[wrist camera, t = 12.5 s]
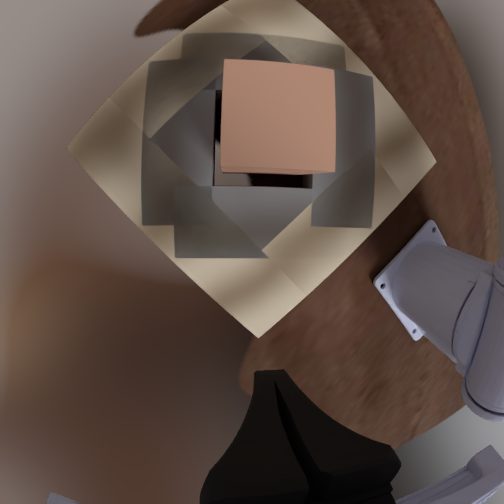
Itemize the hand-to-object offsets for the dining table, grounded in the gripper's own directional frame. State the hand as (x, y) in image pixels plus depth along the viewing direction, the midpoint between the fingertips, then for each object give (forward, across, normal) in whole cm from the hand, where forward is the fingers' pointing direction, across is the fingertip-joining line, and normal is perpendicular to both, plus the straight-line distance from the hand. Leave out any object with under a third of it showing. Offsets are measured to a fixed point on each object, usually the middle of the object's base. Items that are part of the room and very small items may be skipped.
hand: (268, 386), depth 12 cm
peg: (+10, 0, -12) cm, 16 cm away
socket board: (+10, 0, -12) cm, 15 cm away
